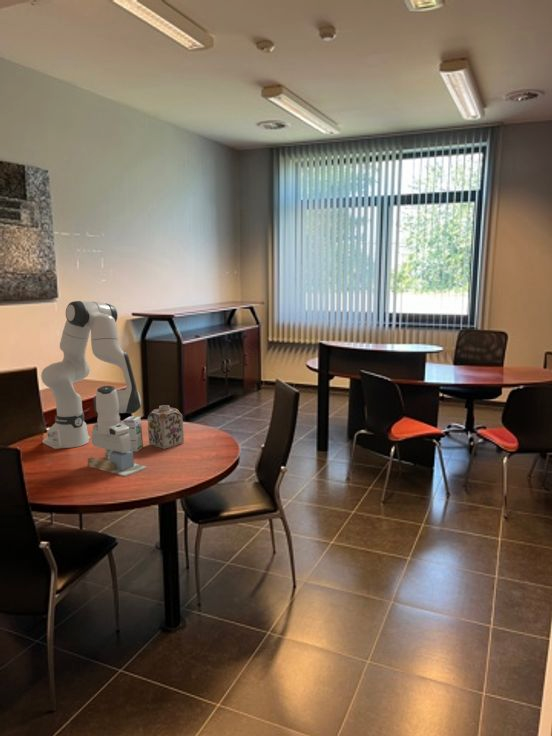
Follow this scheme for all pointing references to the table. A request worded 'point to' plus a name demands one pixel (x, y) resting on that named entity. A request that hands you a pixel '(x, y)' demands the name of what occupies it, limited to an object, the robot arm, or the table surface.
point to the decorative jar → (165, 427)
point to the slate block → (122, 460)
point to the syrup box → (134, 432)
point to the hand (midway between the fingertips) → (112, 459)
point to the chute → (113, 466)
